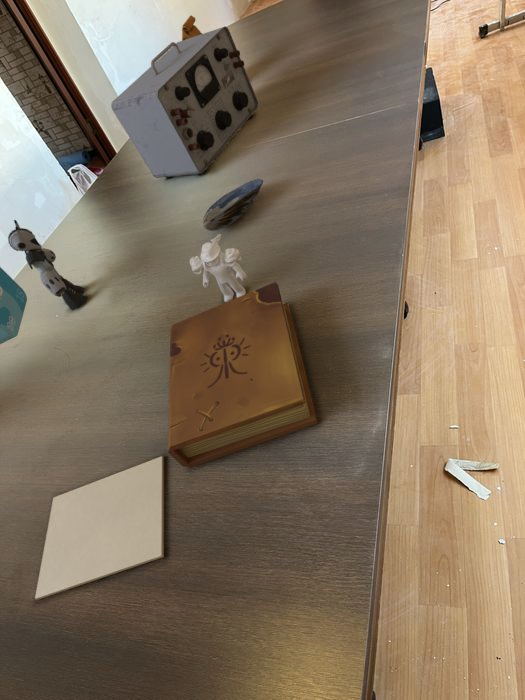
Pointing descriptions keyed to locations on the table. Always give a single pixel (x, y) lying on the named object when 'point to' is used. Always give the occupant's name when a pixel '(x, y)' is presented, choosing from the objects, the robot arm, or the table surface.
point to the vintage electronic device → (187, 104)
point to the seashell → (231, 206)
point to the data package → (10, 307)
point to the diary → (235, 378)
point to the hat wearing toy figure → (220, 268)
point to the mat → (104, 528)
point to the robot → (46, 267)
